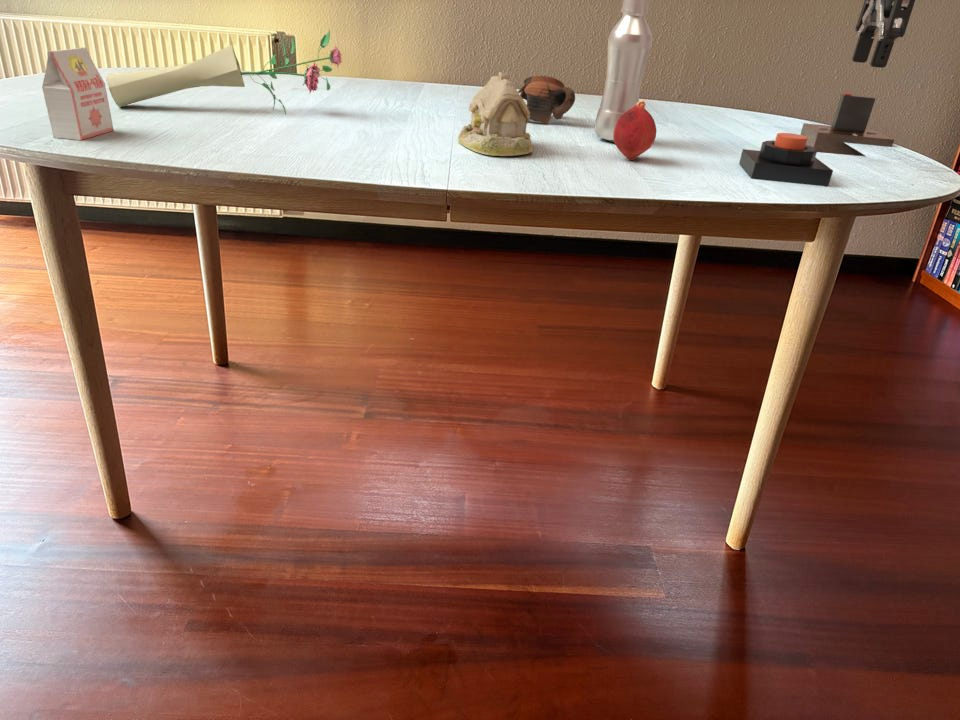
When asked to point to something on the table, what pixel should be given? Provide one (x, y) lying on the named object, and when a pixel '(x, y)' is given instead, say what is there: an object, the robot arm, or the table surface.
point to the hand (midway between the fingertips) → (867, 64)
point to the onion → (635, 131)
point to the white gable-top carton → (75, 95)
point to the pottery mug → (546, 98)
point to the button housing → (785, 165)
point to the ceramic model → (497, 120)
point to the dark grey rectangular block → (852, 113)
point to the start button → (791, 141)
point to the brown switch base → (841, 139)
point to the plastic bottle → (624, 66)
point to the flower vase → (206, 75)
